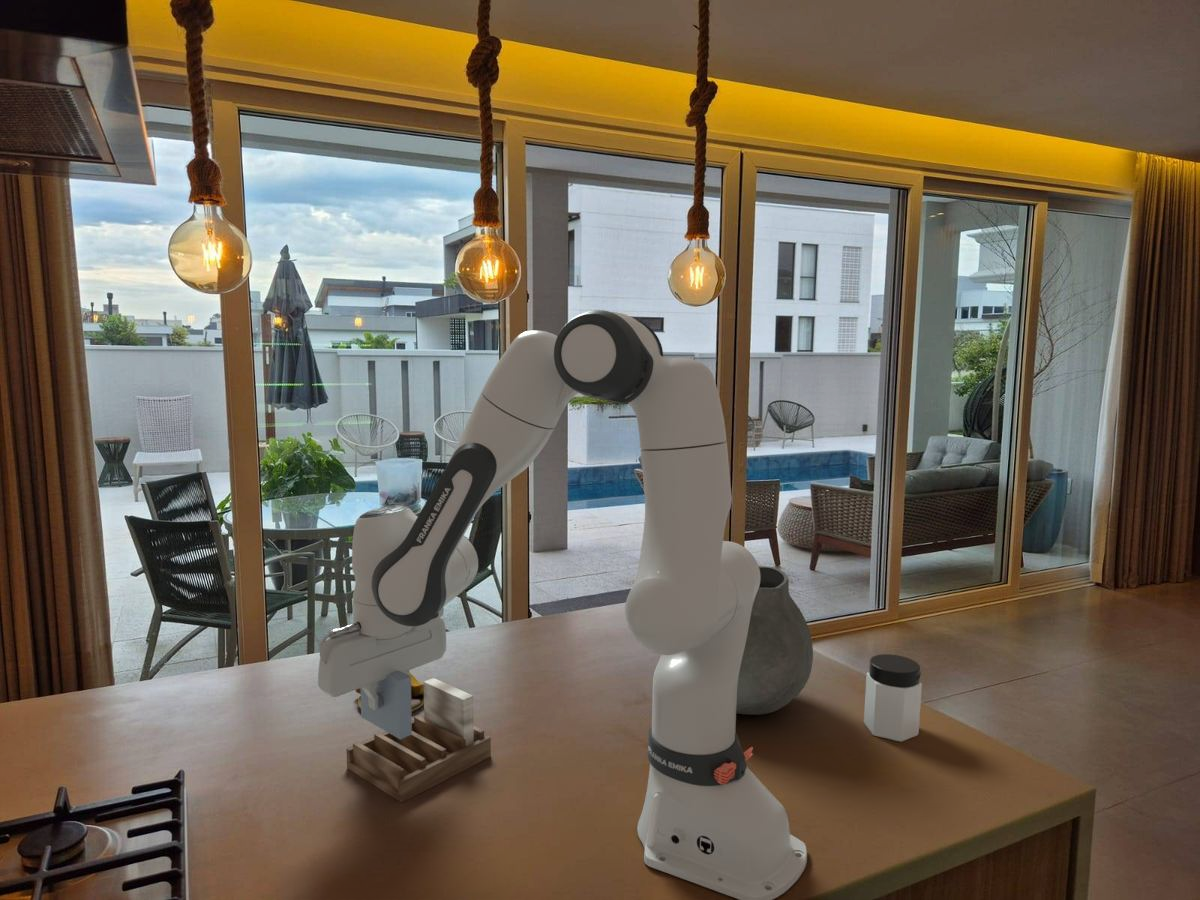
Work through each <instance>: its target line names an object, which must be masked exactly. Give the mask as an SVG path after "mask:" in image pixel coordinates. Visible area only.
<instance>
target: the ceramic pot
mask: <svg viewBox="0 0 1200 900" xmlns="http://www.w3.org/2000/svg"><path fill="white" fill-rule="evenodd" d="M758 566H759V569H760V585H759V589H758V591H757V594H756V597H755V600H754V603H753V607H752V611H751V617H750V623H749V628H748V634H747V639H746V643H745V648H744V652H743V657H742V661H741V666H740V672H739V678H738V686H737V705H736V714H740V715H749V716H752V715H753V716H754V715H755V716H760V715H761V716H762V715H767V714H771V713H774V712H777V711H778V710H781V709H782V708H784V707H785V706H786V705H788V704H790V702H792V700H793V699H795V698H796V697H797V696H799V694H800V693H801V692H802V690H803V689H804V688H805V687H806V684H807V683H808V680H809V679H810V676H811V673H812V669H813V668H812V667H813V661H814V649H813V647H814V646H813V638H812V635H811V631H810V628H809V625H808V623H807V620H806V618H805V616H804V614H803V612H802V610H801V609H800V608H799V606H798V605H797V603H796V602H795V601H794V599H793V598H792V596H791V595H790V591H789V589H790V588H789V587H790V585H789V584H790V583H789V577H788V575H787V574H786V573H785V572H784V571H783V570H781V569H779V568H775V567H772V566H771V567H770V566H763V565H762V566H761V565H758Z"/></svg>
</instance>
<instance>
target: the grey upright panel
mask: <svg viewBox="0 0 1200 900" xmlns="http://www.w3.org/2000/svg"><path fill="white" fill-rule="evenodd" d="M374 691H375V692H376V693H378V694H379V695H382V696H383V698H384V701H383V703H384V705H383V707H380V708H378V709H375V710H373V709H371V708H370V707H369V705H368V696H367V694H366V693H365V692H364V690H363V689H362V688H361V694H360V696H361V708H360V717H361V718H363V719H364V720H366V721H368V722H369V723H371V724H373V725H374V726H375V727H378V728H379V729H381V730H383V731H384V732H388V733H390V734H392V735H393V736H395V737H397V738H398V739H403V738H405V737H407V736H409V735H412V722H411V721H412V712H411V676H409V675H407V674H405V673H402V672H400V671H396V672H393V673H390V674H387V678H386V679H384V680H381V681H378V682H377V688H376V689H374Z"/></svg>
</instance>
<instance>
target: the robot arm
mask: <svg viewBox="0 0 1200 900" xmlns="http://www.w3.org/2000/svg"><path fill="white" fill-rule="evenodd" d="M578 394H581V395H583V396H585V397H588V398H591V399H596V400H601V401H608V402H611V403H616V404H620V405H627V404H628V405H629V406H630V408H632V410H633V412H634V414H635V416H636V420H637V425H638V426H637V427H638V434H639V446H640V447H639V448H640V456H641V457H640V458H641V467H642V468H641V469H642V470H641V471H642V479H643V482H642V483H643V491H644V523H643V532H642V541H641V547H640V548H641V549H640V555H639V559H638V560H639V561H638V565H637V566H638V568H637V572H636V576H635V579H634V582H633V585H632V587H631V589H630V591H629V593H628V595H627V598H626V600H625V601H626V602H625V607H624V615H625V620H626V623H627V626H628V629H629V631H630V634H632V636H633V638H634V640H635V641H637V643H638V644H639V645H641V646H642V647H643V648H644V649H646V650H647V651H649V652H650V653H653V654H657V655H660V658H659V661H658V663H657V664H656V667H655V670H654V672H653V676H652V677H653V678H652V705H651V706H652V707H651V708H652V711H651V726H650V728H649V730H648V738H647V739H648V740H647V759H648V762H649V773H648V780H647V781H648V782H647V787H646V794H645V798H644V803H643V808H642V811H641V813H640V816H639V819H638V822H637V827H636V828H637V830H636V831H637V835H638V837H639V840H640V842H641V844H642V845H643V848H644V853H643V862H644V863H645V865H647V866H648V867H650V868H652V869H655V870H658V871H660V872H663V873H667V874H669V875H671V876H674V877H677V878H680V879H682V880H685V881H688V882H691V883H694V884H696V885H699V886H701V887H704V888H706V889H710V890H712V891H715V892H718V893H720V894H723V895H726V896H727V897H732V898H735V899H737V900H775V899H776V898H779V897H780V896H781V895H783V894H785V893H786V892H787V891H788V890H789V889H790V888H791V887H792V886H793V885H794V884H795V883H796V882H797V881H798V879H800V877H801V875H802V874H803V872H804V871H805V869H806V866H807V862H808V851H807V846H806V843H805V842H803V840H800V839H799V838H797V836H794V835H792V834H791V832H790V825H789V819H788V814H787V812H786V811H787V810H786V809H785V806H783V804H782V803H781V802H780V801H779V800H778V799H777V798H776V797H775V796H774V794H772V792H771V791H770V790H769V789H768V788H767V787H766V786H765V785H764V784H763V783H762V781H760V779H759V778H758V777H757V776H756V775H755V774H754V773H753V772H752V770H750V769H749V767H748V766H747V761H748V760H749V759H750V758H752V756H753V755H754V754H753V753H752V752H753V749H754V747H753V746H751V747H749V748H748V749H746V750H745V751H744V752H743V749H742V748H743V747H742V746H741V742H740V739H739V736H738V734H737V732H736V723H737V713H736V705H737V686H738V678H739V672H740V666H741V661H742V657H743V652H744V648H745V643H746V639H747V634H748V628H749V623H750V617H751V611H752V607H753V603H754V600H755V597H756V594H757V591H758V589H759V585H760V569H759V566H760V565H759V564H758V561H757V560H756V558H755V556H754V555H753V553H751V551H749V550H748V549H747V548H746V547H744V546H743V545H741V544H740V543H737V542H734V541H728V540H724V537H725V529H726V523H727V519H728V515H729V514H730V510H731V507H732V501H733V500H732V499H733V496H732V487H731V485H732V484H731V476H730V475H731V473H730V464H729V463H730V462H729V453H728V452H729V451H728V441H727V440H728V439H727V432H726V424H725V417H724V412H723V407H722V402H721V398H720V395H719V394H720V393H719V390H718V387H717V384H716V380H715V377H714V375H713V372H712V371H711V369H710V368H709V366H707V365H706V364H705V363H704V362H703V363H702V362H700V361H698V360H696V359H694V358H693V359H692V358H689V357H665V356H664V351H663V345H662V342H661V340H660V338H659V337H658V335H657V334H656V333H655V332H654V330H653V329H652V328H651V327H650V326H648V325H647V324H645V323H644V322H642V321H641V320H638V319H635V318H634V317H632V316H630V315H627V314H624V313H621V312H616V311H608V310H604V309H603V310H602V309H596V310H595V309H594V310H589V311H585V312H582V313H580V314H577V315H576V316H574V317H573V318H571V319H570V320H569V321H567V322H566V323H565V325H564V326H563V327H562V328H561V330H560V331H559V333H558V334H557V335H556V334H554V333H551V332H549V331H545V330H537V329H535V330H526V331H522V332H521V333H520V334H518V335H517V336H516V337H515V338H514V339H513V340H512V342H511V343H510V345H509V346H508V347H507V349H506V350H505V351H504V352H503V354H502V355H501V357H500V359H498V362H497V363H496V365H495V366H494V368H493V370H492V371H491V373H490V375H489V376H488V378H487V380H486V382H485V384H484V386H483V388H482V390H481V392H480V393H479V396H478V398H477V400H476V403H475V404H474V407H473V409H472V411H471V413H470V415H469V417H468V420H467V421H466V422H467V423H466V425H465V427H464V429H463V431H462V434H461V436H460V438H459V440H458V441H457V445H456V446H455V448H454V450H453V451H452V454H451V456H450V459H449V460H448V462H447V464H446V467H445V468H444V470H443V471H442V473H441V475H440V476H439V479H438V480H437V482H436V484H435V485H434V487H433V489H432V491H431V492H430V494H429V496H428V497H427V499H426V502H425V503H424V505H423V507H422V508H421V510H420V512H419V514H418V516H417V515H416V514H415V513H414V512H413V510H412V509H411V508H409V507H408V506H405V505H399V504H398V505H397V504H396V505H388V506H381V507H379V508H377V507H376V508H374V509H371V510H368V511H367V512H366V511H365V512H364V513H362V514H361V515H360V516H359V517H358V518H357V519H356V522H355V523H354V528H353V534H352V544H351V545H352V548H351V549H352V550H351V553H352V554H351V568H352V573H353V577H354V579H355V580H354V581H355V582H354V583H355V584H354V590H353V593H352V613H353V615H352V618H353V619H352V620H353V623H351V624H347V625H345V626H343V627H340V628H333V629H331V630H330V631H328V632H327V633H328V634H326V635H325V636H324V637H323V638H322V640H320V643H319V664H318V674H317V677H318V679H317V685H318V688H319V689H320V690H321V691H322V692H323V693H325V694H327V695H329V696H330V697H333V698H337V697H340V696H343V695H346V694H348V693H351V692H353V691H356V690H357V689H359V688H362V689H363V690H364V692H365V693H366V694H367V696H368V705H369V707H370V708H371V709H373V710H375V709H378V708H380V707H383V705H384V703H383V701H384V698H383V696H382V695H379V694H378V693H376V692H375V691H374V689H376V688H377V682H378V681H381V680H384V679H386V678H387V674H390V673H393V672H396V671H400V672H402V673H405V674H407V675H409V672H410V671H411V670H414V669H416V668H419V667H421V666H424V665H427V664H429V663H433V662H435V661H438V660H440V659H442V658H443V656H444V655H445V653H446V651H447V631H446V623H445V621H444V619H443V618H442V617H443V616H444V607H446V606H447V604H449V603H450V602H452V601H453V600H454V599H455V598H456V597H458V596H459V595H460V594H461V593H462V592H463V591H464V590H465V589H467V588H468V587H469V586H470V585H471V584H472V583H474V581H475V580H476V577H477V575H478V572H479V567H480V562H479V561H480V560H479V555H478V551H477V549H476V547H475V545H474V544H473V542H472V541H471V540H470V539H469V538H468V537H466V535H465V533H466V532H467V531H468V528H469V527H470V525H471V523H472V521H473V519H474V518H475V516H476V515H477V514H478V512H479V510H480V509H481V507H482V506H483V505H484V504H485V503H486V502H487V501H488V500H489V499H490V498H491V497H492V496H493V495H494V494H495V493H497V491H498V490H500V489H501V488H502V487H503V486H505V485H506V484H507V483H508V482H510V481H511V480H513V479H515V478H516V477H517V476H519V475H520V474H521V473H522V472H524V471H525V470H527V469H528V468H529V467H530V466H531V464H532V463H533V462H534V460H535V459H536V458H537V457H538V455H539V454H540V453H541V451H542V450H543V449H544V447H545V446H546V444H547V442H549V439H550V438H551V436H552V434H553V433H554V430H555V428H556V426H557V424H558V422H559V420H560V418H561V416H562V414H563V412H564V411H565V408H566V407H567V406H568V404H569V402H570V401H571V400H573V398H574V397H575V396H576V395H578Z"/></svg>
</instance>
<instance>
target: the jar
mask: <svg viewBox="0 0 1200 900" xmlns="http://www.w3.org/2000/svg"><path fill="white" fill-rule="evenodd" d="M868 668H869V671H867V672H866V679H865V694H864V696H865V697H864V710H863V711H864V712H863V724H864V725H865V726H866V728H867V729H868V730H869V731H870V733H871V734H872V735H873V736H875V737H878V738H883V739H887V740H890V741H891V740H892V741H895V742H900V743H902V742H905V741H907V740H909V739H912V738H915V737H917V736H918V735H919V732H920V731H919V730H920V718H921V717H920V716H921V704H922V703H921V701H922V691H923V690H922V689H923V684H922V682H921V681H920V678H921V674H922V673H921V666H920V664H919V663H918V662H917V661H915V659H911V658H909V657H906V656H902V655H897V654H888V653H887V654H885V653H883V654H877V655H874V656H872V657H871V658H870V660H869V667H868Z"/></svg>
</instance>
